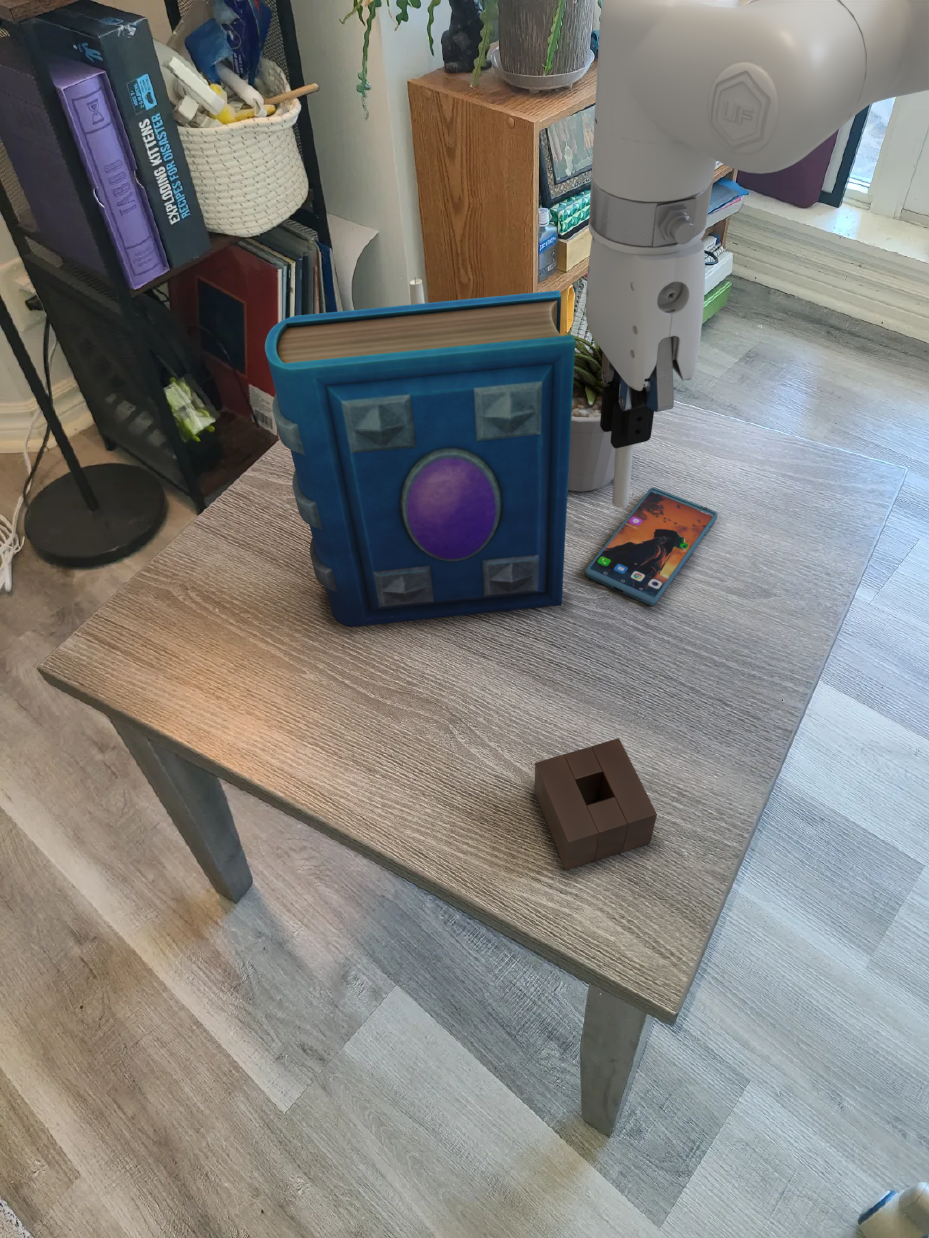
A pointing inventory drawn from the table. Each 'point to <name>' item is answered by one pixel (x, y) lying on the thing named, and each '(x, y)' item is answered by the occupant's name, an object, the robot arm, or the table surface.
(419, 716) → the table surface
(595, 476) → the potted plant
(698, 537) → the smartphone
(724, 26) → the robot arm
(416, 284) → the candle
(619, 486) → the stylus
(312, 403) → the book
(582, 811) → the pen stand
